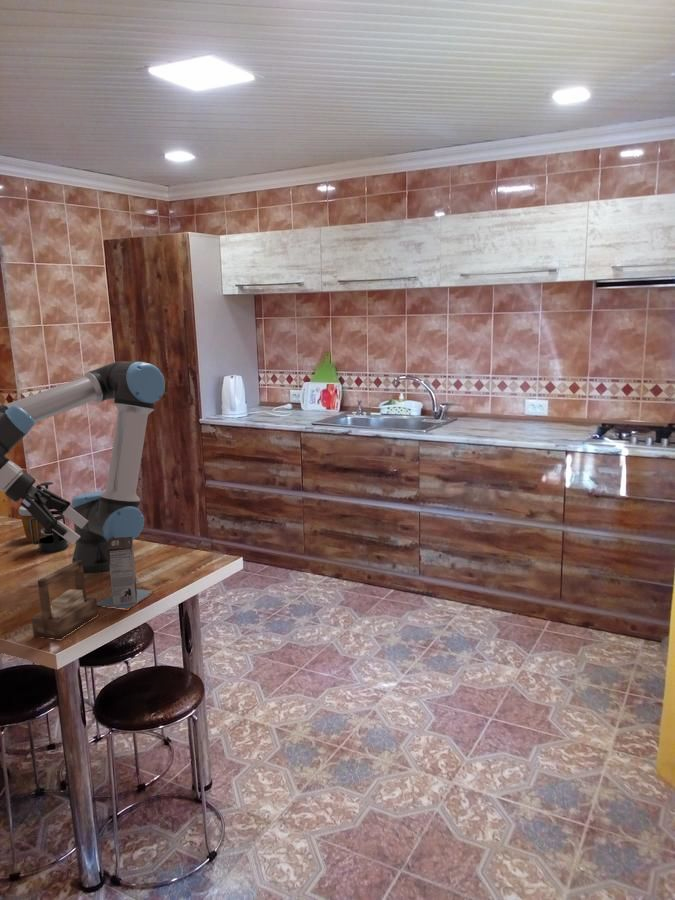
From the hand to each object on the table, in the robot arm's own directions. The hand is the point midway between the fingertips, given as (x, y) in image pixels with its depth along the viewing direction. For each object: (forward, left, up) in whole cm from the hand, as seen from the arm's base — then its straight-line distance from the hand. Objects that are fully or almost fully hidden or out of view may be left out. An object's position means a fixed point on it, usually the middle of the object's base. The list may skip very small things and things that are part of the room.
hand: (81, 532), depth 179 cm
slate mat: (-5, +8, -20) cm, 22 cm away
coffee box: (-5, +8, -20) cm, 22 cm away
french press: (-34, -42, -21) cm, 58 cm away
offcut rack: (+13, +4, -20) cm, 24 cm away
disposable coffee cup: (-41, -55, -21) cm, 72 cm away
